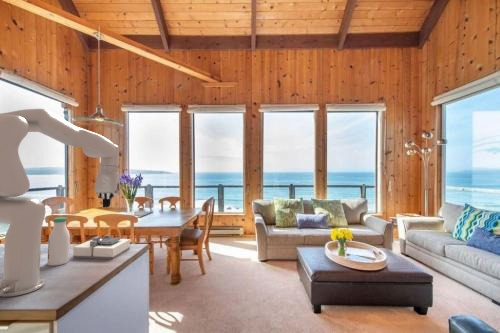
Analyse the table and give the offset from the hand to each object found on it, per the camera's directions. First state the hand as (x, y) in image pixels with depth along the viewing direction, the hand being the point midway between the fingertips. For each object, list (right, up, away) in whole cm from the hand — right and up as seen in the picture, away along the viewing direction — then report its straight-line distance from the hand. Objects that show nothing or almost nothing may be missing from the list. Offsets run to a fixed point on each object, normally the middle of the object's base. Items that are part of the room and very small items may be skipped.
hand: (106, 207), depth 123 cm
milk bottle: (-15, -23, -10) cm, 30 cm away
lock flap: (-2, -17, +4) cm, 18 cm away
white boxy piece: (-4, -24, +4) cm, 24 cm away
